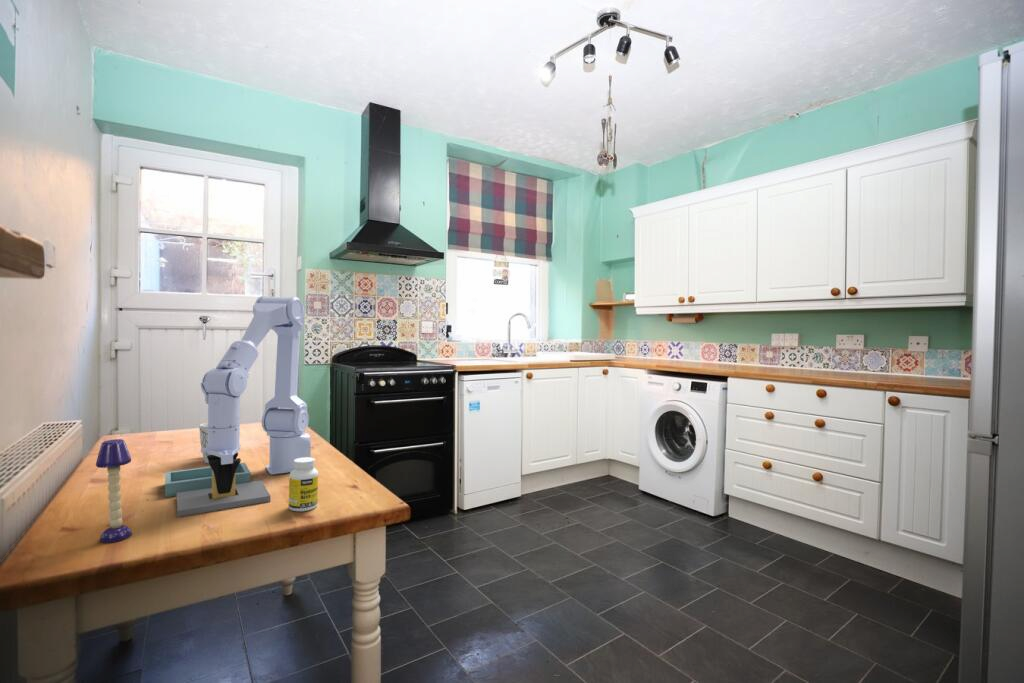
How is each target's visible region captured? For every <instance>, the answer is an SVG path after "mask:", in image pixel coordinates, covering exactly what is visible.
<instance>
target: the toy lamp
mask: <svg viewBox="0 0 1024 683" xmlns="http://www.w3.org/2000/svg"><path fill="white" fill-rule="evenodd" d="M100 444H101V445H100V448H99V451H98V455H97V459H96V463H95V466H96V467H97V468H99V469H107V473H108V476H107V482H108V485H107V490H108V496H107V499H108V500H109V502H108V509H109V513H108V516H109V519H110V520H109V527H108V528H106V529H105V530H104V531H103V532H102V533H101V535H100V538H99V542H100V543H104V544H105V543H106V544H109V543H117V542H119V541H123V540H126V539H127V538H129V537H131V536H132V534H133V533H132V530H131V528H130V527H129V526H127V525H124V524H123V518H122V516H123V510H122V505H123V503H122V500H121V499H122V492H121V487H122V486H121V482H120V481H121V477H122V476H121V473H120V472H121V466H125V465H128V464H129V463H131V462H132V457H131V454H130V452H129V449H128V447H127V443H126V441H125V440H124V439H122V438H120V439H119V438H117V439H109V440H104V441H103V442H101V443H100Z"/></svg>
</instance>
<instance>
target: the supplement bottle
mask: <svg viewBox="0 0 1024 683" xmlns="http://www.w3.org/2000/svg"><path fill="white" fill-rule="evenodd" d="M293 466H294V468H295V469H294V470H293V471H291V472H289V477H288V478H289V479H288V480H289V481H288V482H289V483H288V487H289V488H288V508H289V510H290V511H293V512H306V511H311V510H313V509H315V508H316V507H317V506H318V500H319V495H318V493H319V471H318V470H317V469H316V468H315V466H316V459H315V458H314V457H303V458H297V459H295V460H294V465H293Z"/></svg>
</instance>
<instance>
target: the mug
mask: <svg viewBox="0 0 1024 683" xmlns="http://www.w3.org/2000/svg"><path fill="white" fill-rule="evenodd" d="M198 429H199V440H200V447H201V448H207V447H208V421H207V422H203V423H201V424H199V428H198ZM201 454H202V458H203V462H204V463H205V464H209V460H208V459H207V456H208V455H212V454H209V453H201Z"/></svg>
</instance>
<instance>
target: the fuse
mask: <svg viewBox="0 0 1024 683" xmlns="http://www.w3.org/2000/svg"><path fill="white" fill-rule="evenodd" d="M229 496H235V475H234V479H233V483H232V488H231V491H230V493H223V494H219V493H218V490H217V486H216V480H215V475H214V472H213V470H212V499H216V498H222V497H229Z"/></svg>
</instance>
